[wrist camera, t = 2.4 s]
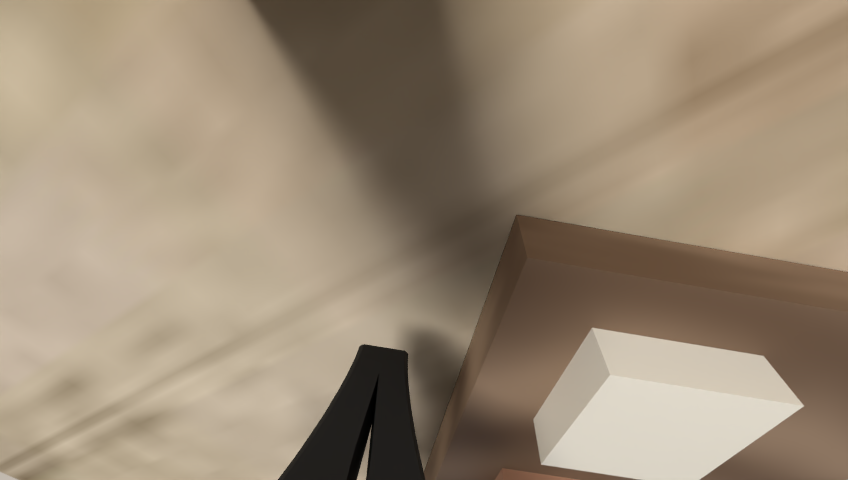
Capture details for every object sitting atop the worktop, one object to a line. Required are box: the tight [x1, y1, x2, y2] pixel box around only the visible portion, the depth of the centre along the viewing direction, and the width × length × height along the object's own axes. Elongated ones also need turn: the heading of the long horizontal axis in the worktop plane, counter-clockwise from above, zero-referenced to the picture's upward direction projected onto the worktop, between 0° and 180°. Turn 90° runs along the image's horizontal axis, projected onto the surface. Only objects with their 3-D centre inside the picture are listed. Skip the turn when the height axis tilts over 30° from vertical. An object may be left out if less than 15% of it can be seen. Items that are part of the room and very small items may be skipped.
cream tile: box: [533, 328, 804, 480], centre depth 11 cm, size 5×5×2 cm
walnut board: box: [424, 215, 848, 480], centre depth 15 cm, size 18×15×2 cm
